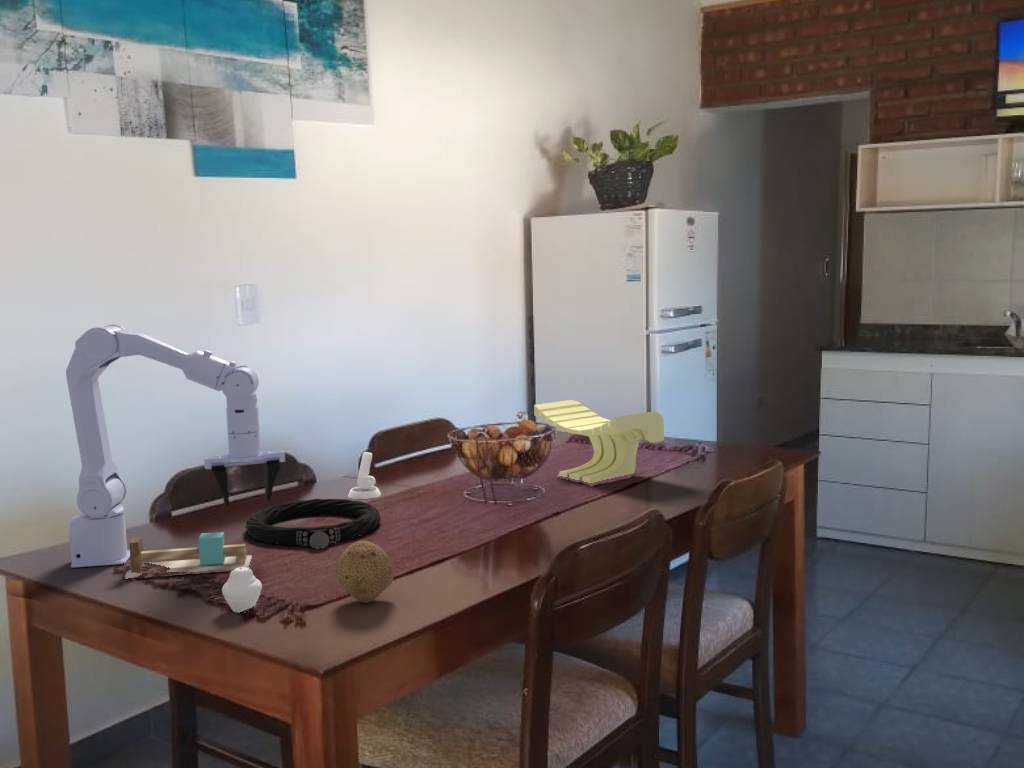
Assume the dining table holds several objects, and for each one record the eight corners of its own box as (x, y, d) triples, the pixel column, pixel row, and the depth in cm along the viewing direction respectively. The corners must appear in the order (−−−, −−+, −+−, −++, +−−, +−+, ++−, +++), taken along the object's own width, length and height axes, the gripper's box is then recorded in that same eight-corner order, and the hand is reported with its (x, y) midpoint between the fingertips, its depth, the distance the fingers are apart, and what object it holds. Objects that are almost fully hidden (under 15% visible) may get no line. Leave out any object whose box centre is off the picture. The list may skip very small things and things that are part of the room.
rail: (125, 580, 170) (122, 545, 169) (133, 568, 177) (131, 535, 176) (248, 570, 174) (246, 536, 173) (251, 559, 181) (250, 526, 180)
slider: (200, 565, 174) (198, 539, 173) (203, 558, 177) (201, 533, 177) (223, 563, 174) (221, 537, 174) (225, 557, 178) (224, 531, 178)
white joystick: (384, 466, 238) (387, 454, 232) (377, 511, 232) (380, 501, 226) (354, 461, 237) (356, 449, 231) (346, 506, 231) (348, 495, 225)
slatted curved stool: (664, 482, 236) (663, 409, 234) (616, 492, 226) (615, 417, 224) (581, 464, 259) (580, 398, 257) (535, 473, 250) (534, 404, 248)
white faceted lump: (269, 610, 153) (266, 567, 152) (231, 619, 150) (228, 575, 149) (254, 600, 158) (252, 558, 157) (217, 608, 155) (215, 565, 154)
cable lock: (371, 492, 218) (390, 525, 189) (372, 508, 219) (391, 544, 190) (244, 502, 211) (244, 538, 182) (245, 519, 211) (245, 558, 183)
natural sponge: (324, 605, 155) (321, 544, 154) (360, 588, 162) (358, 530, 161) (368, 614, 150) (365, 552, 149) (403, 597, 158) (401, 537, 156)
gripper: (205, 438, 175) (209, 511, 177) (286, 431, 181) (289, 502, 182) (201, 432, 182) (206, 503, 183) (279, 425, 187) (283, 494, 189)
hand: (247, 502), depth 183 cm, fingers open, 7 cm apart
